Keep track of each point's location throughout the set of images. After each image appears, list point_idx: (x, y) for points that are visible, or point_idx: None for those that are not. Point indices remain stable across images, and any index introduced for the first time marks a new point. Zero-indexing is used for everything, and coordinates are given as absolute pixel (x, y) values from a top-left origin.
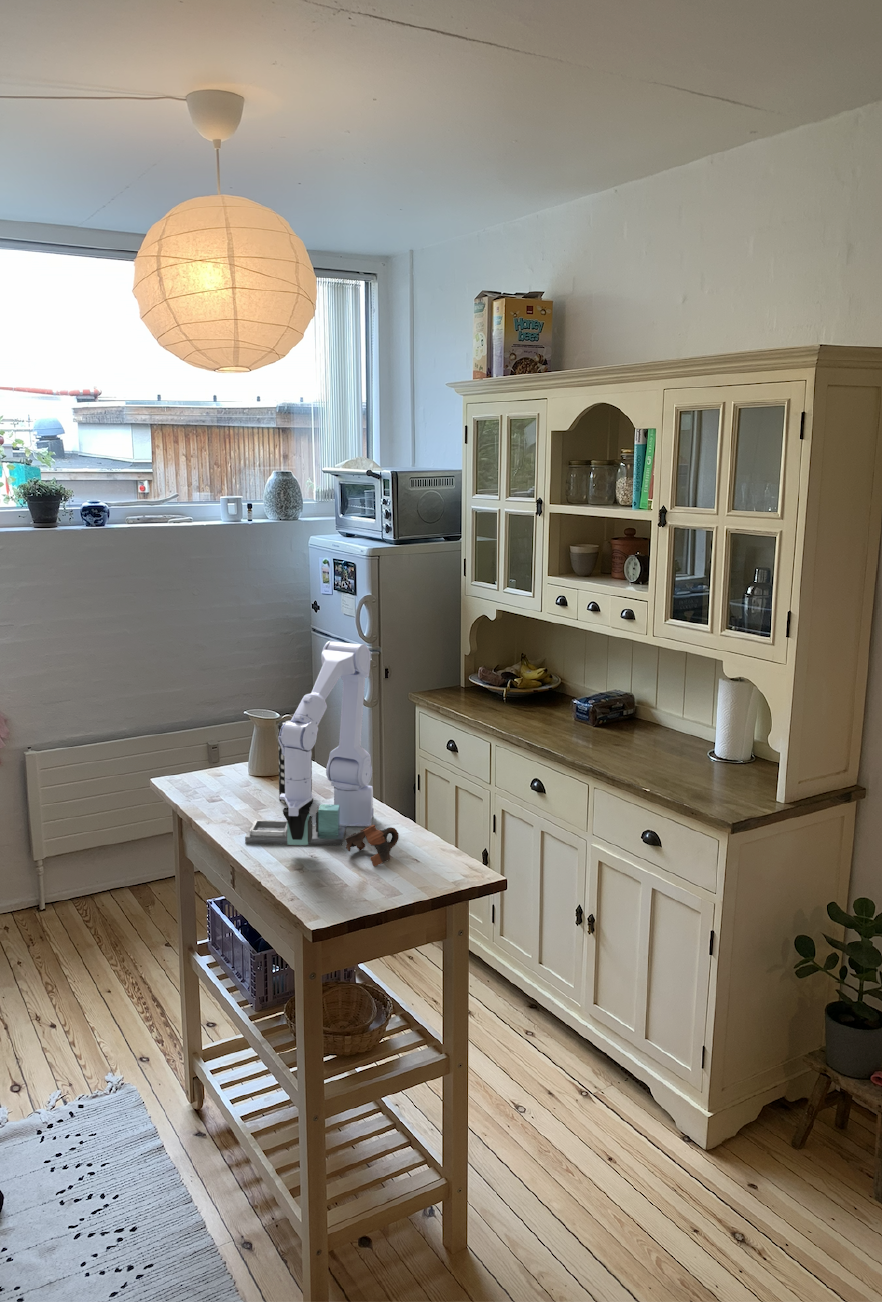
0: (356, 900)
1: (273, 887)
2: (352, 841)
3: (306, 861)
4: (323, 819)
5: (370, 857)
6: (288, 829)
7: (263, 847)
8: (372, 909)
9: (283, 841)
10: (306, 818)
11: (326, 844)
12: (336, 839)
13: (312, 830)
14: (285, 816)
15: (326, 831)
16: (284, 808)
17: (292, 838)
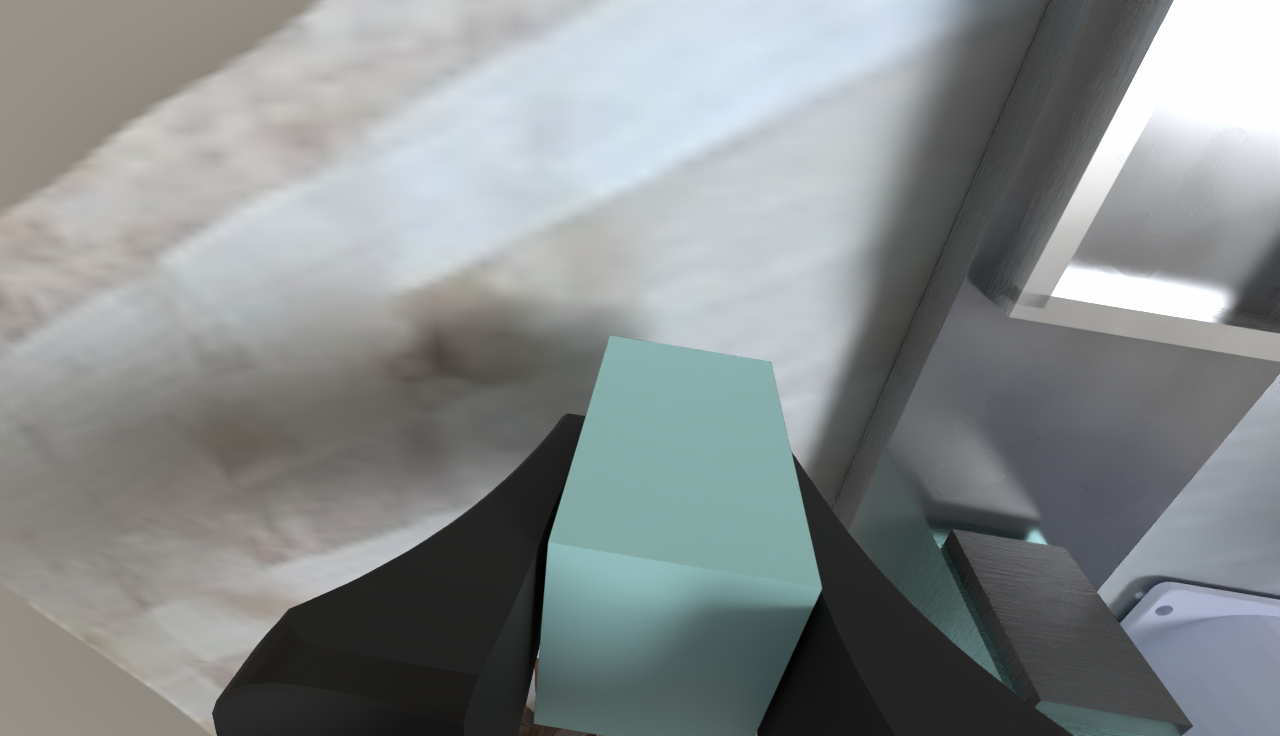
0: (125, 575)
1: (101, 171)
2: (531, 733)
3: (570, 403)
4: None
5: None
6: (583, 441)
7: (932, 49)
8: (69, 612)
9: (953, 260)
10: (549, 719)
11: None
12: None
13: (1042, 498)
14: (311, 607)
15: (916, 591)
16: (401, 722)
17: (562, 419)
